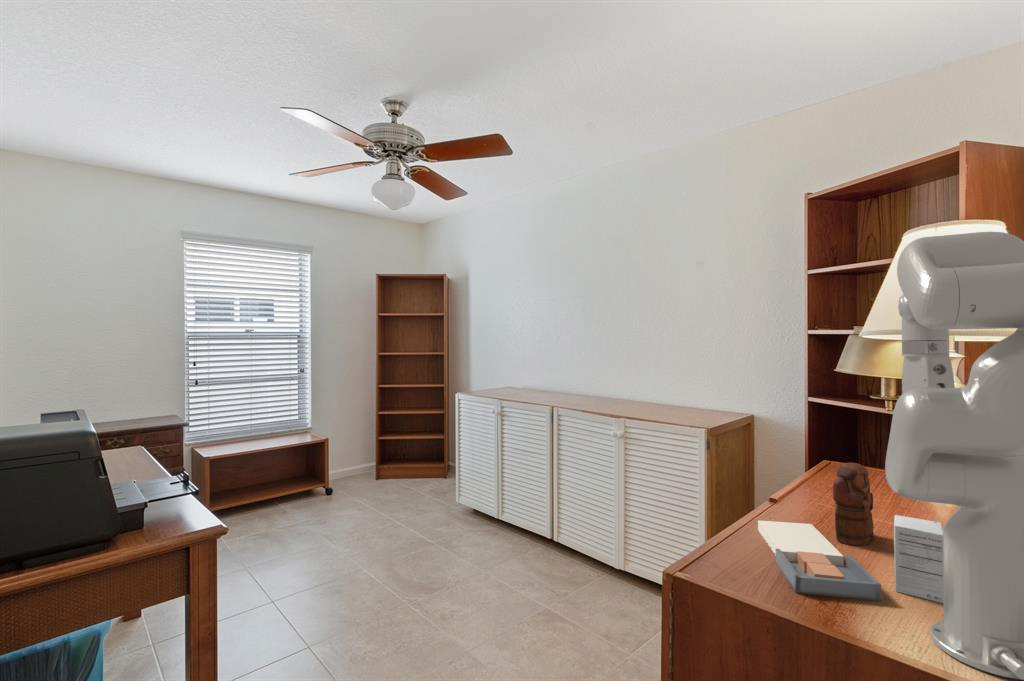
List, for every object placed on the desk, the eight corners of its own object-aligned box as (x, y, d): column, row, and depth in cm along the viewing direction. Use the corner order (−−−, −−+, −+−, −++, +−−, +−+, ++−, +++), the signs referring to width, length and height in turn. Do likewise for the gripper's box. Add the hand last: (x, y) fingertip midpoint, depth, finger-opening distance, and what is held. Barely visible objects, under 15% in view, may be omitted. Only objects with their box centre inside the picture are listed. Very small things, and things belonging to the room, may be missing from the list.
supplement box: (894, 576, 97) (894, 513, 97) (944, 588, 92) (943, 522, 92) (894, 591, 91) (893, 524, 91) (946, 605, 86) (946, 534, 86)
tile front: (844, 588, 92) (844, 576, 92) (814, 585, 93) (814, 573, 93) (834, 576, 96) (834, 565, 96) (806, 573, 98) (806, 562, 98)
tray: (881, 601, 88) (881, 584, 88) (796, 592, 91) (795, 577, 91) (849, 568, 100) (849, 554, 100) (775, 562, 104) (775, 548, 103)
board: (843, 567, 101) (843, 556, 101) (780, 562, 104) (780, 551, 104) (811, 533, 118) (811, 524, 118) (758, 529, 121) (757, 520, 121)
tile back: (832, 575, 97) (832, 564, 97) (804, 572, 98) (804, 561, 98) (823, 564, 101) (823, 553, 101) (796, 561, 103) (796, 551, 103)
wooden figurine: (863, 550, 109) (862, 470, 109) (830, 541, 114) (830, 465, 114) (878, 536, 117) (877, 461, 117) (847, 528, 122) (846, 456, 121)
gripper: (971, 350, 93) (972, 445, 93) (924, 348, 107) (925, 431, 107) (925, 350, 94) (926, 444, 94) (885, 348, 109) (886, 430, 109)
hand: (925, 437), depth 101 cm, fingers closed
